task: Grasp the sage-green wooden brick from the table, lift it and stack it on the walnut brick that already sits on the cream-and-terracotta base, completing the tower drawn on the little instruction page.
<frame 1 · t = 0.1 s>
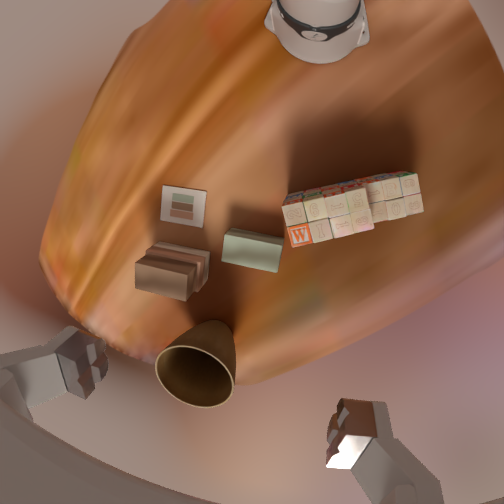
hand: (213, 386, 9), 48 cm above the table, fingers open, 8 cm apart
brick sage: (255, 245, 59), on the table
brick walnut: (171, 271, 57), point 6 cm above the table, touching base brick
instruction page: (182, 206, 58), on the table
stack of blocks: (348, 197, 53), on the table
plant pot: (216, 332, 67), on the table
base brick: (183, 260, 62), on the table
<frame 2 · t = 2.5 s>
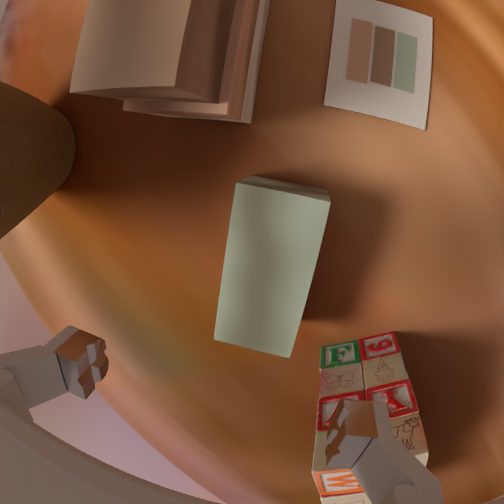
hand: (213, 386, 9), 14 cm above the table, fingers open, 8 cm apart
brick sage: (276, 251, 22), on the table
brick walnut: (187, 16, 12), point 6 cm above the table, touching base brick
instruction page: (382, 56, 16), on the table
stack of blocks: (367, 419, 26), on the table
plant pot: (52, 151, 23), on the table
base brick: (219, 46, 18), on the table
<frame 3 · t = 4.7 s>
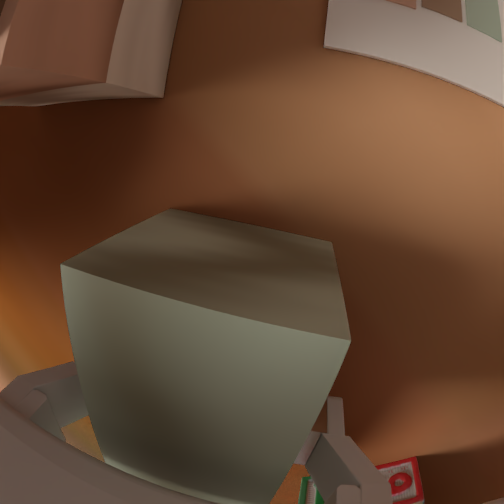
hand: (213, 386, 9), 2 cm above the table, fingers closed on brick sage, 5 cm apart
brick sage: (226, 356, 11), on the table, touching gripper
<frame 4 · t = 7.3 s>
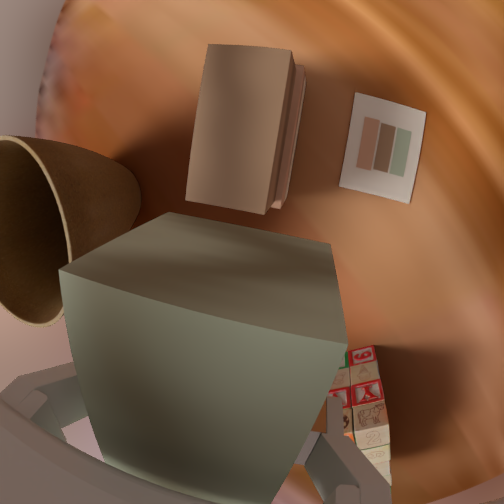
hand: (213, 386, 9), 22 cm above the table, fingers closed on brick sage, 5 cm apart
brick sage: (226, 359, 11), point 20 cm above the table, touching gripper
brick walnut: (252, 129, 22), point 6 cm above the table, touching base brick
instruction page: (384, 147, 25), on the table
stack of blocks: (359, 408, 36), on the table
plant pot: (117, 197, 32), on the table
base brick: (264, 133, 27), on the table
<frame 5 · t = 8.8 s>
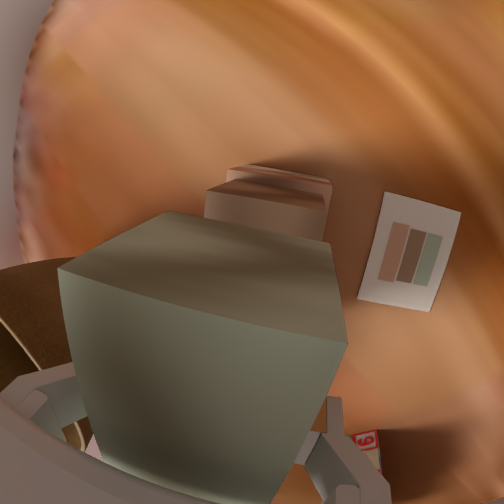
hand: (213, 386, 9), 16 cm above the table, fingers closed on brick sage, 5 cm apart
brick sage: (225, 359, 11), point 15 cm above the table, touching gripper
brick walnut: (264, 268, 19), point 6 cm above the table, touching base brick
instruction page: (410, 255, 23), on the table
stack of blocks: (361, 472, 33), on the table
plant pot: (111, 291, 29), on the table
base brick: (275, 240, 24), on the table
when the fingers open (14 cm above the table, at t = 10.1 s): brick sage stays where it is, resting on brick walnut.
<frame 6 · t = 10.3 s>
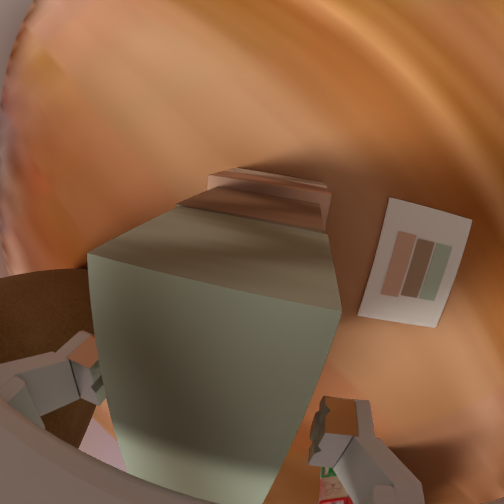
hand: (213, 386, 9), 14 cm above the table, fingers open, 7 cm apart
brick sage: (231, 344, 12), point 11 cm above the table, touching brick walnut
brick walnut: (252, 288, 16), point 6 cm above the table, touching base brick, brick sage
instruction page: (416, 268, 20), on the table
stack of blocks: (359, 487, 31), on the table
plant pot: (94, 304, 27), on the table
base brick: (267, 252, 22), on the table
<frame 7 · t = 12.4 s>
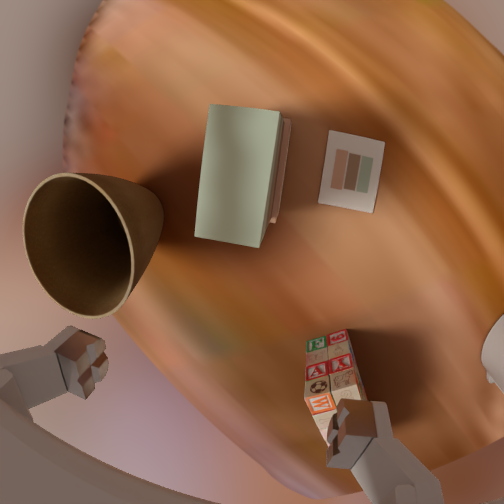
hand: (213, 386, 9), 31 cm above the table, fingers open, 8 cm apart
brick sage: (246, 171, 26), point 11 cm above the table, touching brick walnut
instruction page: (351, 171, 35), on the table
stack of blocks: (343, 383, 46), on the table
plant pot: (142, 214, 41), on the table
base brick: (260, 164, 37), on the table
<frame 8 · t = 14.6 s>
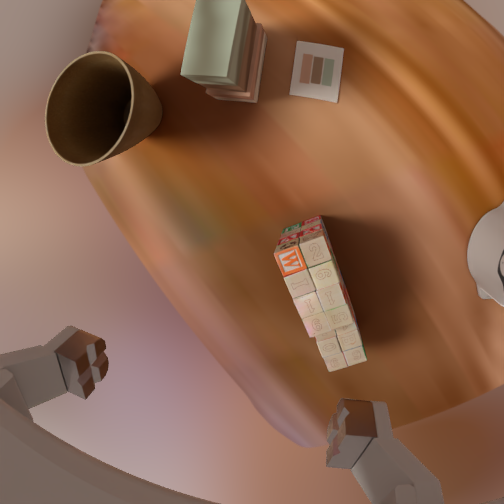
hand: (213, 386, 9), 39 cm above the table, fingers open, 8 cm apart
brick sage: (223, 46, 30), point 11 cm above the table, touching brick walnut
brick walnut: (233, 56, 35), point 6 cm above the table, touching base brick, brick sage
instruction page: (317, 70, 39), on the table
stack of blocks: (324, 281, 49), on the table
plant pot: (145, 114, 46), on the table
base brick: (242, 67, 41), on the table
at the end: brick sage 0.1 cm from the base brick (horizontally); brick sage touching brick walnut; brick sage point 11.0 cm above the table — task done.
